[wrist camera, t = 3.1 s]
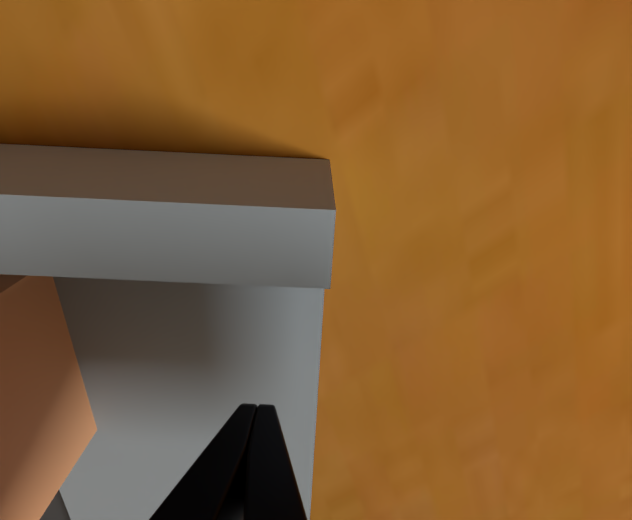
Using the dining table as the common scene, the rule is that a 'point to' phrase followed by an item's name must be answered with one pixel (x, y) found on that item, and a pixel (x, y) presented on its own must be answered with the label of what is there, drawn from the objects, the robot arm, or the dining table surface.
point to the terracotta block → (37, 397)
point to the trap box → (174, 302)
